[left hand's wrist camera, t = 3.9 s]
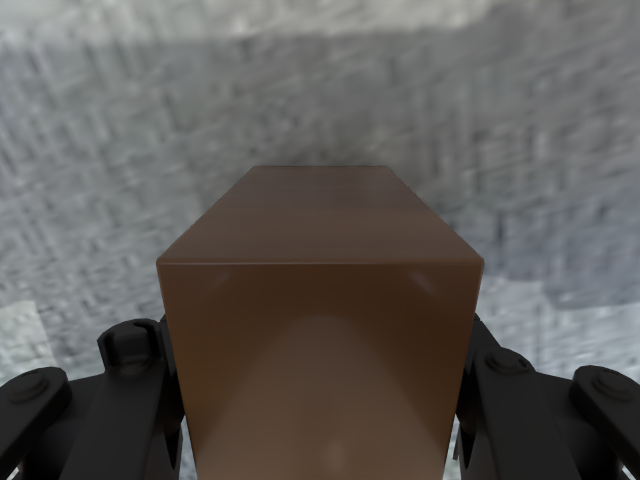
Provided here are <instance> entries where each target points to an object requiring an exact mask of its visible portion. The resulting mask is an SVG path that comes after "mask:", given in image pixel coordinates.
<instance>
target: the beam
mask: <svg viewBox="0 0 640 480" xmlns="http://www.w3.org/2000/svg"><path fill="white" fill-rule="evenodd" d="M156 267H157V272H158V277H159V282H160V287H161V293H162V298H163V303H164V308H165V313H166V318H167V323H168V328H169V334H170V339H171V344H172V349H173V354H174V359H175V364H176V370H177V375H178V380H179V385H180V390H181V395H182V400H183V405H184V411H185V416H186V421H187V426H188V431H189V436H190V441H191V447H192V452H193V457H194V462H195V467H196V472H197V477H198V480H442V479H443V474H444V469H445V463H446V458H447V453H448V448H449V443H450V438H451V433H452V428H453V423H454V417H455V412H456V407H457V402H458V397H459V392H460V387H461V382H462V376H463V371H464V366H465V361H466V356H467V351H468V346H469V341H470V335H471V330H472V325H473V320H474V315H475V310H476V305H477V300H478V294H479V289H480V284H481V279H482V274H483V269H484V259H483V258H482V257H481V256H480V255H479V254H478V253H477V252H476V251H475V250H474V249H472V248H471V247H470V246H469V245H468V244H467V243H466V242H465V241H464V240H463V239H462V238H461V237H460V236H459V235H458V234H457V233H456V232H455V231H454V230H453V229H451V228H450V227H449V226H448V225H447V224H446V223H445V222H444V221H443V220H442V219H441V218H440V217H439V216H438V215H437V214H436V213H435V212H434V211H433V210H432V209H430V208H429V207H428V206H427V205H426V204H425V203H424V202H423V201H422V200H421V199H420V198H419V197H418V196H417V195H416V194H415V193H414V192H413V191H412V190H411V189H409V188H408V187H407V186H406V185H405V184H404V183H403V182H402V181H401V180H400V179H399V178H398V177H397V176H396V175H395V174H394V173H393V172H392V171H391V170H390V169H388V168H387V167H386V166H254V167H253V168H252V169H251V170H250V171H249V172H248V173H246V174H245V175H244V176H243V177H242V178H241V179H240V180H239V181H238V182H237V183H236V184H235V185H234V186H233V187H232V188H231V189H230V190H229V191H228V192H227V193H226V194H224V195H223V196H222V197H221V198H220V199H219V200H218V201H217V202H216V203H215V204H214V205H213V206H212V207H211V208H210V209H209V210H208V211H207V212H206V213H205V214H204V215H202V216H201V217H200V218H199V219H198V220H197V221H196V222H195V223H194V224H193V225H192V226H191V227H190V228H189V229H188V230H187V231H186V232H185V233H184V234H183V235H182V236H180V237H179V238H178V239H177V240H176V241H175V242H174V243H173V244H172V245H171V246H170V247H169V248H168V249H167V250H166V251H165V252H164V253H163V254H162V255H161V256H160V257H158V258H157V261H156Z"/></svg>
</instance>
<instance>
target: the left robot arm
mask: <svg viewBox="0 0 640 480" xmlns="http://www.w3.org/2000/svg"><path fill="white" fill-rule="evenodd" d="M97 343H98V346H99V350H100V353H101V357H102V360H103V363H104V367H105V372H104V373H103V374H99V375H96V376H91V377H86V378H82V379H77V380H73V381H68V378H67V375H66V372H65V371H63V370H62V369H61V368H57V367H44V368H38V369H34V370H31V371H28V372H25V373H23V374H21V375H19V376H17V377H15V378H13V379H11V380H9V381H8V382H7V383H5V384H4V385H3V386H1V387H0V480H6V479H7V478H8V477H9V476H10V474H11V473H12V472H13V471H14V470H15V468H16V467H17V468H18V470H19V472H18V473H17V474H16V475H15V477H14V478H13V479H12V480H179V472H180V462H181V453H182V443H183V435H182V428H181V422H182V420H183V418H184V415H185V411H184V405H183V400H182V395H181V390H180V385H179V380H178V375H177V370H176V364H175V359H174V354H173V349H172V344H171V339H170V334H169V328H168V323H167V318H166V314H164V316H163V317H162V318H161V320H160V322H159V323H158V322H157V321H155V320H151V319H147V318H146V319H133V320H129V321H125V322H122V323H120V324H117V325H115V326H112V327H111V328H109V329H108V330H106V331H105V332H104V333H102V335H101V336H100V337H99V338H98V339H97ZM455 413H456V415H457V418H458V420H459V422H460V424H459V428H458V433H457V438H456V443H455V448H454V454H453V459H454V460H457V459H458V455H459V461H460V471H461V480H630V479H629V478H628V477H627V475H626V474H625V473H624V472H623V470H622V468H623V466H624V465H625V467H626V468H627V469H628V470H629V472H630V473H631V474H632V475H633V476H634V478H635V479H636V480H640V385H639V384H638V383H636V382H635V381H634V380H632V379H631V378H629V377H627V376H625V375H623V374H621V373H619V372H617V371H614V370H612V369H608V368H605V367H600V366H593V365H588V366H581V367H579V368H578V369H577V370H576V371H575V373H574V376H573V379H572V380H570V379H565V378H561V377H556V376H551V375H547V374H543V373H539V372H536V371H535V369H534V367H533V366H532V365H531V363H530V362H529V361H528V360H527V359H525V358H524V357H523V356H522V355H520V354H518V353H516V352H514V351H512V350H510V349H507V348H503V347H501V346H500V345H499V344H498V342H497V341H496V340H495V338H494V337H493V335H492V334H491V333H490V331H489V330H488V329H487V327H486V326H485V325H484V323H483V322H482V321H480V318H479V317H478V315H477V314H476V313H475V315H474V320H473V325H472V330H471V335H470V341H469V346H468V351H467V356H466V361H465V366H464V371H463V376H462V382H461V387H460V392H459V397H458V402H457V407H456V412H455Z"/></svg>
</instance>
